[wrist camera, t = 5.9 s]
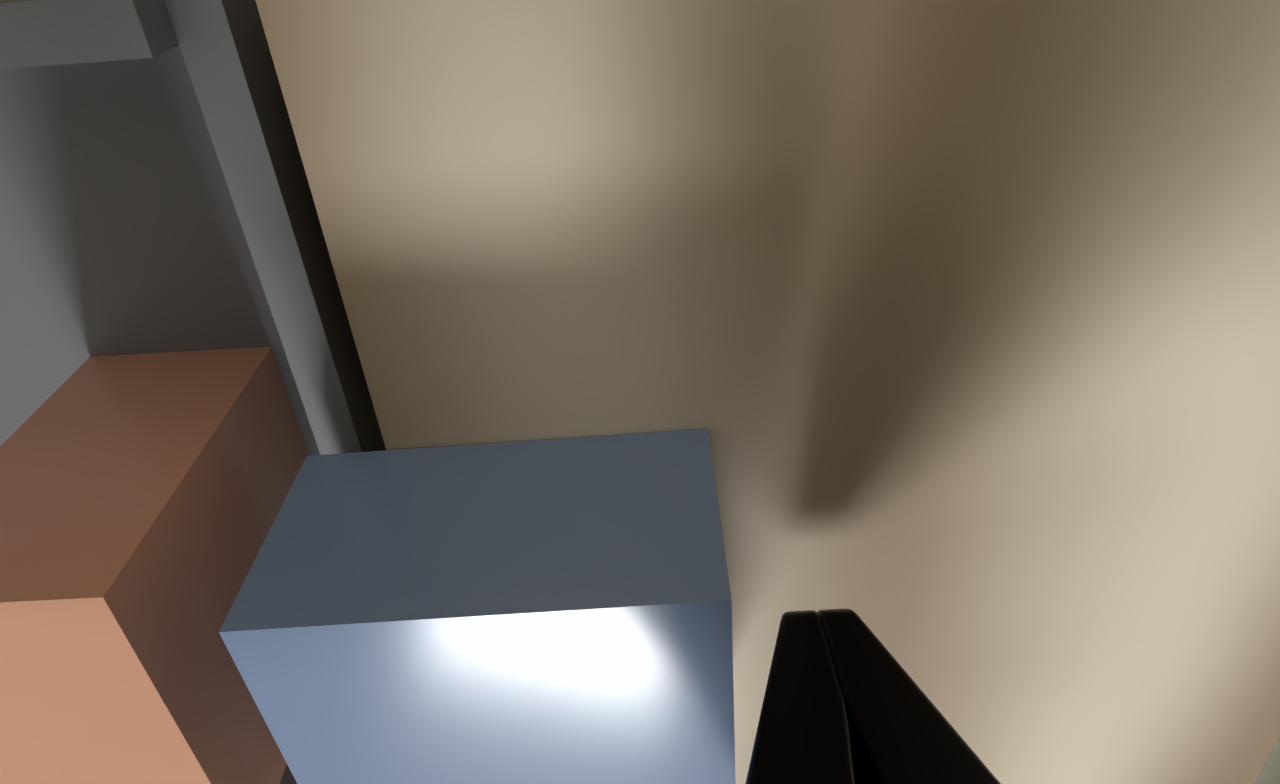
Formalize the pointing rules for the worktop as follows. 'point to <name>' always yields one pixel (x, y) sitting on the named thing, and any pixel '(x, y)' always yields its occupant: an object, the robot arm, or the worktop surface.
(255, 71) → the charcoal tray
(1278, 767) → the worktop surface
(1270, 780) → the worktop surface
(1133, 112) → the birch board
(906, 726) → the robot arm
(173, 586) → the terracotta tile
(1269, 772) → the worktop surface
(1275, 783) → the worktop surface
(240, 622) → the blue-glazed tile
